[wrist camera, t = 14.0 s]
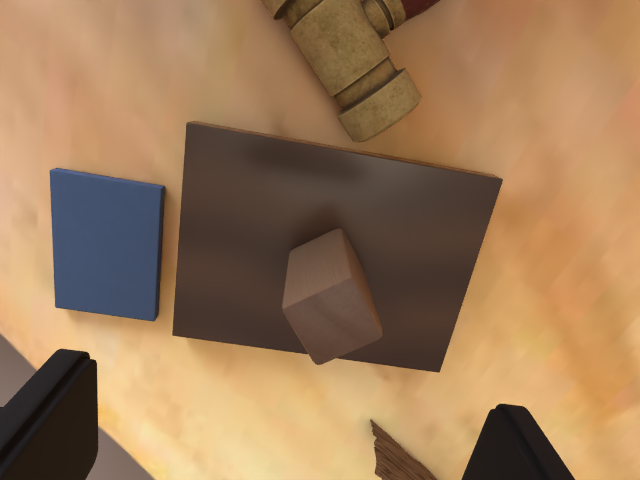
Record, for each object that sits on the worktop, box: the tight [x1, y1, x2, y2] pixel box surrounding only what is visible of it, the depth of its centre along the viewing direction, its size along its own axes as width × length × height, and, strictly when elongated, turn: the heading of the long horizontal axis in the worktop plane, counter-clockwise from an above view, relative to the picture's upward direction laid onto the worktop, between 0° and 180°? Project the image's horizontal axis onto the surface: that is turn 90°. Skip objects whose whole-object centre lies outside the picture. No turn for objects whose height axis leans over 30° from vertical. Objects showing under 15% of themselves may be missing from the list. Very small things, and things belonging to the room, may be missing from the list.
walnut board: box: [172, 121, 503, 372], centre depth 29 cm, size 15×20×2 cm
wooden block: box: [282, 228, 382, 365], centre depth 24 cm, size 4×4×8 cm
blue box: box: [50, 168, 165, 321], centre depth 28 cm, size 10×7×1 cm
